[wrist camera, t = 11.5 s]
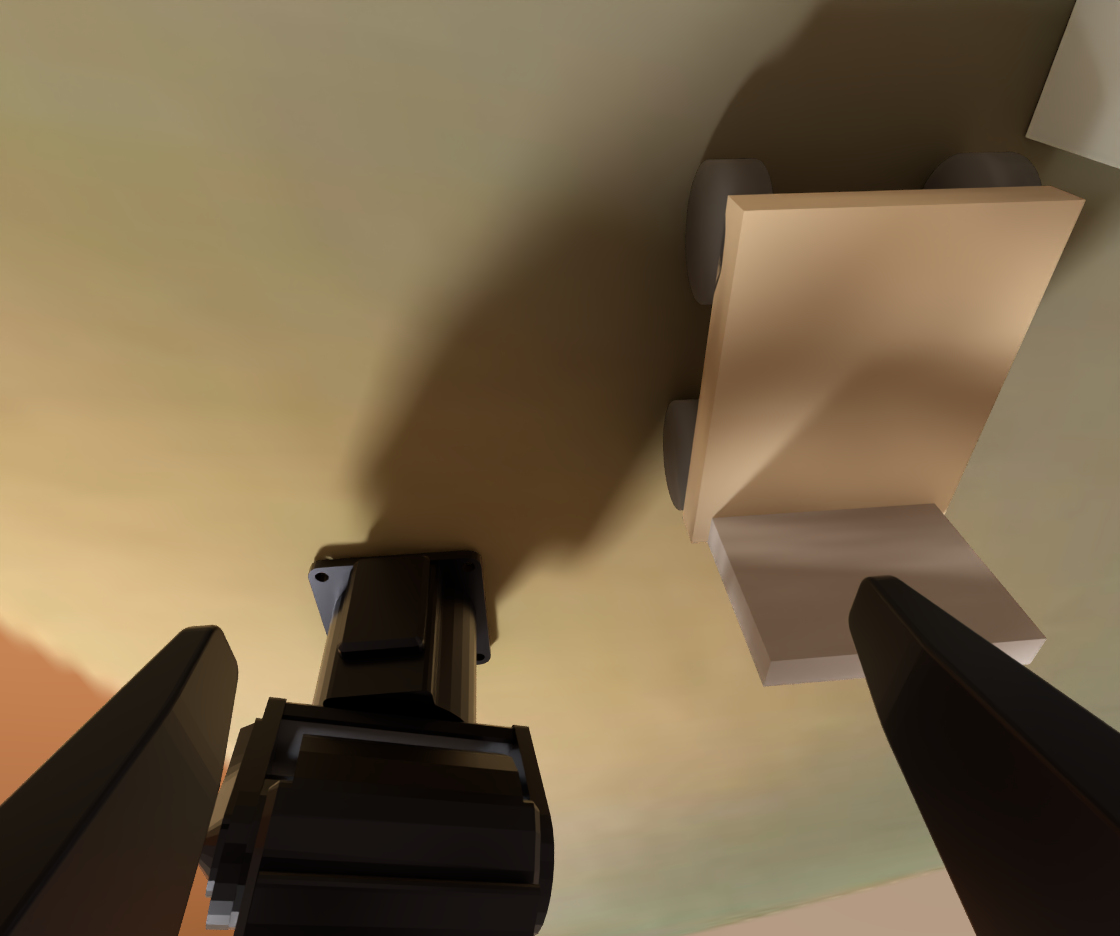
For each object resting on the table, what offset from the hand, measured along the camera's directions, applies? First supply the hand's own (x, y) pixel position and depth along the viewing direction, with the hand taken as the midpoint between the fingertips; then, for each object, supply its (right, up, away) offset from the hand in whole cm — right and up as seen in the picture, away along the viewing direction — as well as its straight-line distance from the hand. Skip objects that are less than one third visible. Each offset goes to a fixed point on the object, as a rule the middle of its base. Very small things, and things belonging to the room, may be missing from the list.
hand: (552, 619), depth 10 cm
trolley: (+8, +7, +12) cm, 16 cm away
